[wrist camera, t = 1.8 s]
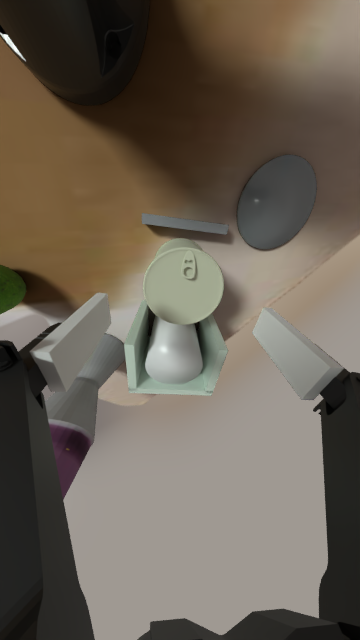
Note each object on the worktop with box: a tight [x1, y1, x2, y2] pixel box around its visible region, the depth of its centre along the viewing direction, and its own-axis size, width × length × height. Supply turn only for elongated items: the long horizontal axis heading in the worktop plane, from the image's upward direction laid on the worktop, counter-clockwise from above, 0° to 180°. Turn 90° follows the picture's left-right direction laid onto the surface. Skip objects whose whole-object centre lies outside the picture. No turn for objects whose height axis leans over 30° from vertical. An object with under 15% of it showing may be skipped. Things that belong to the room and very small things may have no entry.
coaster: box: [237, 155, 317, 249], centre depth 23 cm, size 11×11×1 cm
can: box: [143, 238, 224, 325], centre depth 22 cm, size 9×9×12 cm
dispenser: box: [124, 213, 229, 396], centre depth 24 cm, size 24×13×13 cm, turn 174°
